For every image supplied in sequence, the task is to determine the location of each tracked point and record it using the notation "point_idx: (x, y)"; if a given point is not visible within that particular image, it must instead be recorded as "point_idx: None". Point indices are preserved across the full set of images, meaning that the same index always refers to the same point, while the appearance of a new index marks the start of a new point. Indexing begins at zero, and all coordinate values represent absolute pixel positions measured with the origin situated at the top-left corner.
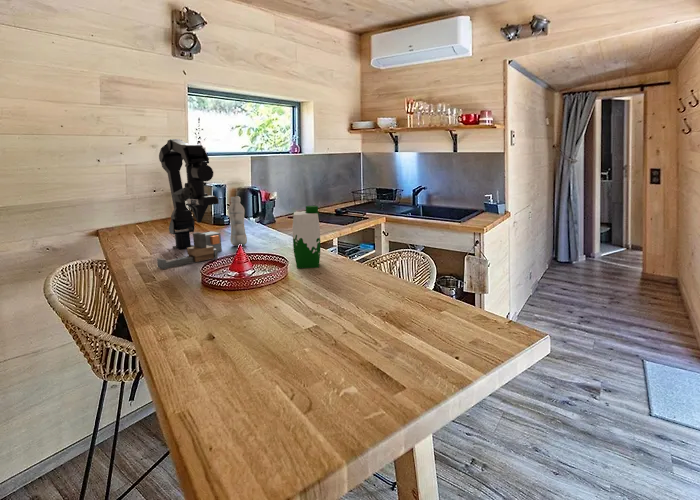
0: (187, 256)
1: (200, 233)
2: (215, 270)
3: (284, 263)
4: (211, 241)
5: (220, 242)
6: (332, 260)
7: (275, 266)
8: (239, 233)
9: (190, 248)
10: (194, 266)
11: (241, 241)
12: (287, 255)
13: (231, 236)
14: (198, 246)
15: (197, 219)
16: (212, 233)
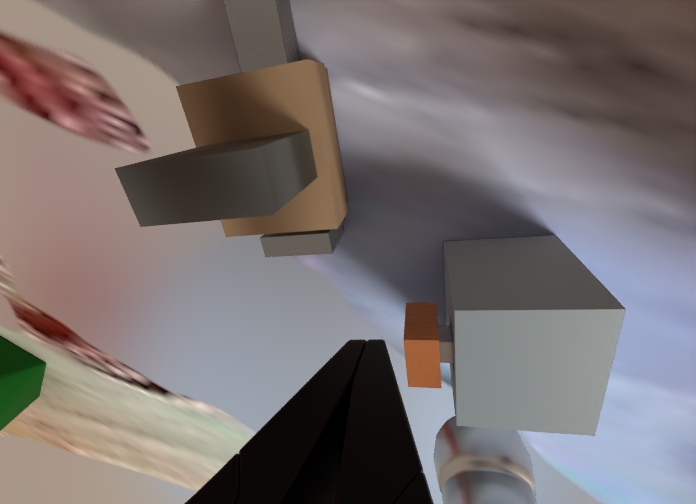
0: (281, 43)
1: (187, 204)
2: (29, 100)
3: (61, 343)
4: (422, 315)
5: (450, 365)
6: (53, 426)
7: (29, 304)
8: (446, 492)
9: (261, 74)
10: (156, 37)
11: (435, 446)
12: (168, 410)
13: (495, 459)
14: (237, 141)
15: (345, 369)
16: (493, 392)
